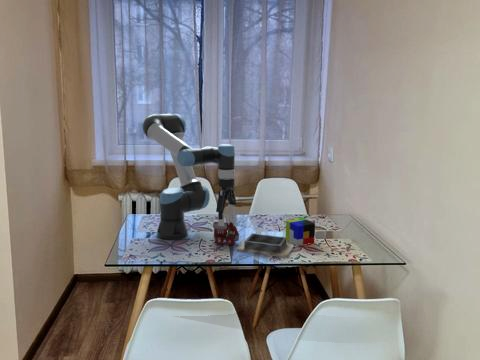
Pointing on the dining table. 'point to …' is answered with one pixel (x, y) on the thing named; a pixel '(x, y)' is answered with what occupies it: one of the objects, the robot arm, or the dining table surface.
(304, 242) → the puzzle toy
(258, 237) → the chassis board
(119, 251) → the dining table surface
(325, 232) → the dining table surface
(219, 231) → the toy fire truck
